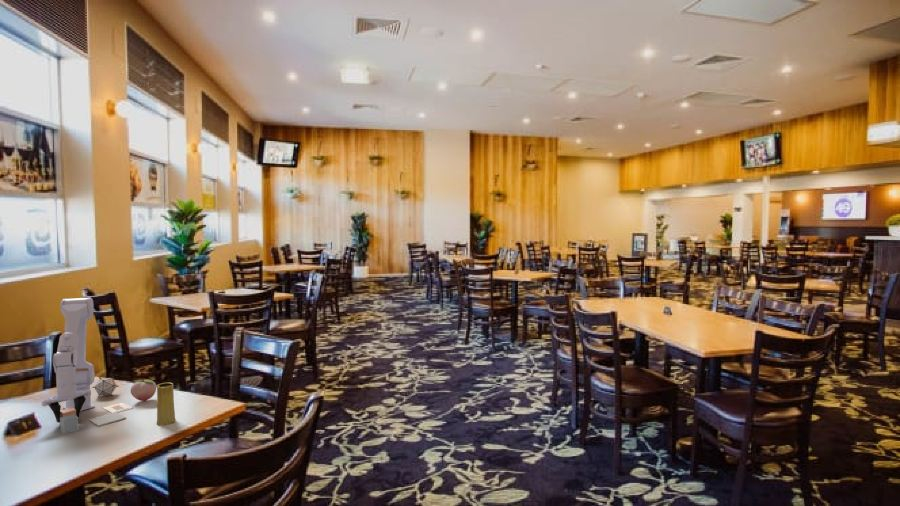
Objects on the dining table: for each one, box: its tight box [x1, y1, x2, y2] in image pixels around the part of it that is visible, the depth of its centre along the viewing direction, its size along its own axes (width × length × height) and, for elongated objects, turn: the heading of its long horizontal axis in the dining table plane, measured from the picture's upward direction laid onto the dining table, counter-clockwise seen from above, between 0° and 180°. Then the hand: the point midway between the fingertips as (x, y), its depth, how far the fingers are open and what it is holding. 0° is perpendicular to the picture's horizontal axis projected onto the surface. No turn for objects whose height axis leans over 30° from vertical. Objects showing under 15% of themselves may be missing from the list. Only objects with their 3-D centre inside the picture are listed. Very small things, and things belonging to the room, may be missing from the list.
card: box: [102, 402, 133, 414], centre depth 199 cm, size 10×7×1 cm
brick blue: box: [59, 414, 79, 435], centre depth 178 cm, size 4×4×5 cm
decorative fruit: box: [130, 377, 157, 402], centre depth 207 cm, size 9×8×10 cm
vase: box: [156, 382, 176, 426], centre depth 185 cm, size 6×6×14 cm
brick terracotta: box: [60, 408, 76, 417], centre depth 184 cm, size 4×4×5 cm
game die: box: [91, 375, 119, 398], centre depth 213 cm, size 9×8×10 cm
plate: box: [89, 412, 127, 427], centre depth 188 cm, size 9×9×1 cm
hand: (68, 419), depth 184 cm, fingers open, 5 cm apart
